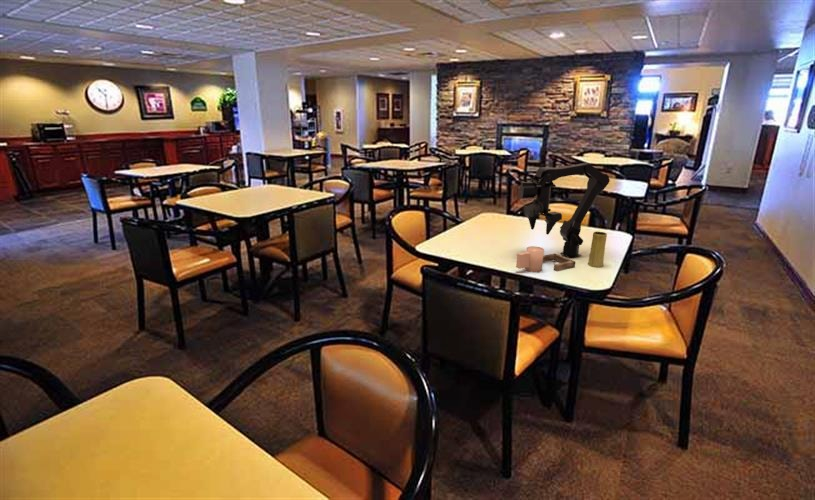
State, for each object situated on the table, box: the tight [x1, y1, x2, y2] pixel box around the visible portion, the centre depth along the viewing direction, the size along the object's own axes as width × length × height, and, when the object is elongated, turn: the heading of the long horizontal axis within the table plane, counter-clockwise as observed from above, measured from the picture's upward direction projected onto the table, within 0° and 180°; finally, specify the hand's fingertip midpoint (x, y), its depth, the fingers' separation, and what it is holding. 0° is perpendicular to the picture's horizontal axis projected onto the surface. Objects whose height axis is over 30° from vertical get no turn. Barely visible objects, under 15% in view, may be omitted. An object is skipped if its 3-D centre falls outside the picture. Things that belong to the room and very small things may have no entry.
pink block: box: [515, 245, 545, 273], centre depth 179 cm, size 12×7×9 cm, turn 116°
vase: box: [587, 231, 608, 268], centre depth 184 cm, size 6×6×14 cm
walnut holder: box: [543, 253, 576, 272], centre depth 186 cm, size 10×12×2 cm
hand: (539, 231), depth 192 cm, fingers open, 9 cm apart
